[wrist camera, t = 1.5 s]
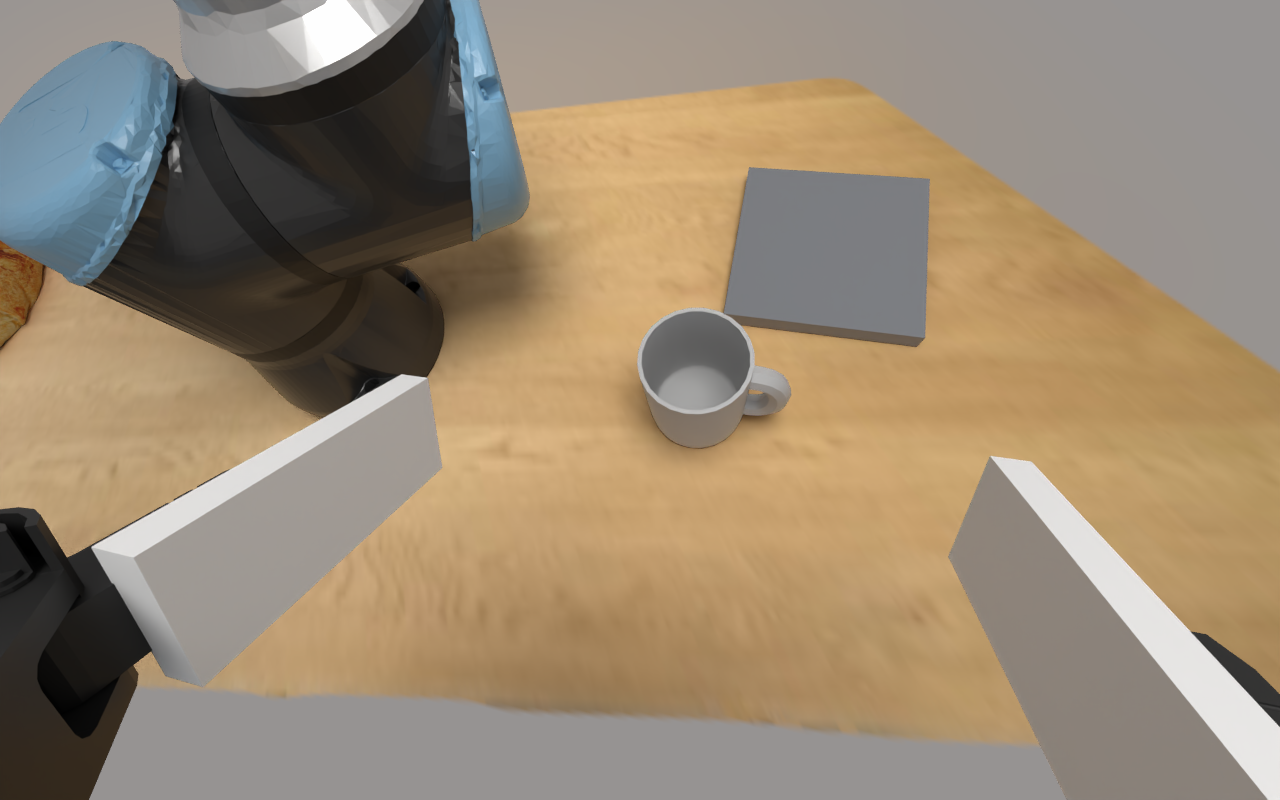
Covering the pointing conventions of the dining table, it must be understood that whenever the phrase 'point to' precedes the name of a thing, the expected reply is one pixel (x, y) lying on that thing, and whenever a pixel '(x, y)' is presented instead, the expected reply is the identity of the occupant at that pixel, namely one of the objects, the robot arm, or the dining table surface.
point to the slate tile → (832, 255)
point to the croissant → (16, 289)
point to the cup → (704, 377)
